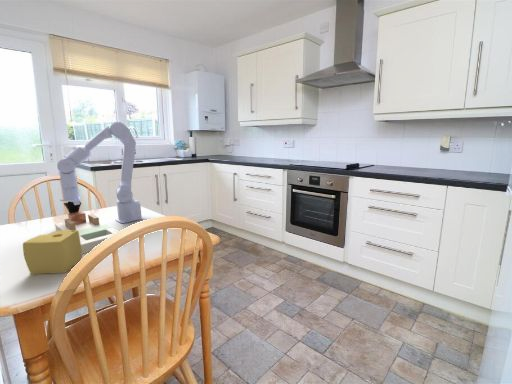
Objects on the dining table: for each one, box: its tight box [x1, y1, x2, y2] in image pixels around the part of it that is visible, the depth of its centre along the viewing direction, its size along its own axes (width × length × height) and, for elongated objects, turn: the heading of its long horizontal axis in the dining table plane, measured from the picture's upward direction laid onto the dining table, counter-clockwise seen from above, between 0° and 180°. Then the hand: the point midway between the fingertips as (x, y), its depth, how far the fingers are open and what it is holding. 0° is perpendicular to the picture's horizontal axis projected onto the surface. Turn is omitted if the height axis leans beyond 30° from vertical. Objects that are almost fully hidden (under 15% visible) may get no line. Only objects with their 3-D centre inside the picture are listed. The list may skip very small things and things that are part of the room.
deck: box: [54, 213, 119, 254], centre depth 110 cm, size 14×33×6 cm, turn 47°
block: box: [67, 210, 87, 225], centre depth 117 cm, size 5×5×4 cm
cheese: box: [22, 230, 83, 275], centre depth 84 cm, size 10×11×10 cm
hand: (74, 218), depth 120 cm, fingers closed
